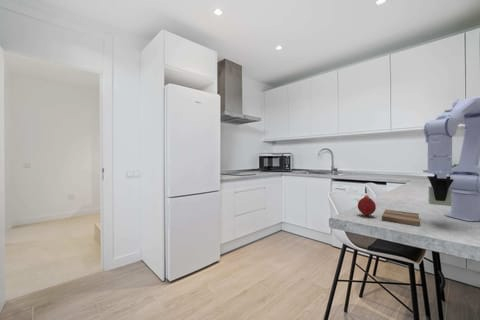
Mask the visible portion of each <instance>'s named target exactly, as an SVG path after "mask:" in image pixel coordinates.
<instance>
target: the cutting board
mask: <svg viewBox="0 0 480 320" xmlns="http://www.w3.org/2000/svg"><path fill="white" fill-rule="evenodd" d="M381 221H382V222H387V223H389V222H390V223H395V224H400V225H401V224H403V225H407V226H408V225H409V226H415V227H420V213H417V212H416V213H415V212H409V211H408V212H407V211H403V210H401V211H400V210H393V209H384V211H383V213H382V215H381Z"/></svg>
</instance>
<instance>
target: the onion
mask: <svg viewBox="0 0 480 320" xmlns="http://www.w3.org/2000/svg"><path fill="white" fill-rule="evenodd" d="M357 209H358V210H359V212H360V213H361V214H363V216H364V217H369V216H370V215H372V214H374V213H375V212H376V209H377V206H376V202H375V201H374V200H373V198H371V197H369V195H368V194H365V195H364V197H362V198H361V199H360V200H359V201H358V203H357Z"/></svg>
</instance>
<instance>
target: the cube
mask: <svg viewBox="0 0 480 320" xmlns="http://www.w3.org/2000/svg"><path fill="white" fill-rule="evenodd" d="M451 193H452V192H451V189H450V188H449V189H448V193H447V197H446V200H445V201H437V200H436V199H435V196H434V191H433V187H432V186H428V203H429V205H434V206H435V205H436V206H445V207H446V206H447V207H451Z"/></svg>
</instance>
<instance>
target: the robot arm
mask: <svg viewBox="0 0 480 320" xmlns="http://www.w3.org/2000/svg"><path fill="white" fill-rule="evenodd" d="M459 125H465V131H464V137H463V141H462V146H461V150H460V155H459V161H458V164H456V165H455V166H453V137H454V136H456V133H457V130H458V127H459ZM423 135H424V136H425V143H426V144H427V169H422V172H423V173H427V174H433V176H429V175H428V176H426V177H427V179H428V181H429V182H430V187H433V191H434V196H435V199H436V200H437V201H445V200H446V197H447V193H448V189H449V188H450V189H451V206H450V207H451V208H450V209H451V210H450V211H451V213H444V216H446V217H450V218H455V219H458V220H462V221H466V222H480V167H479V163H480V95H478V96H477V95H476V96H473V97H466V98H461V99H455V100H454V101H453V103H452V105H451V108H446V109H444V111H443V113H441V114H440V115H438V116H437V117H436V118H435V119H431V120H428V121H427V122H425V124H424V127H423Z"/></svg>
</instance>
